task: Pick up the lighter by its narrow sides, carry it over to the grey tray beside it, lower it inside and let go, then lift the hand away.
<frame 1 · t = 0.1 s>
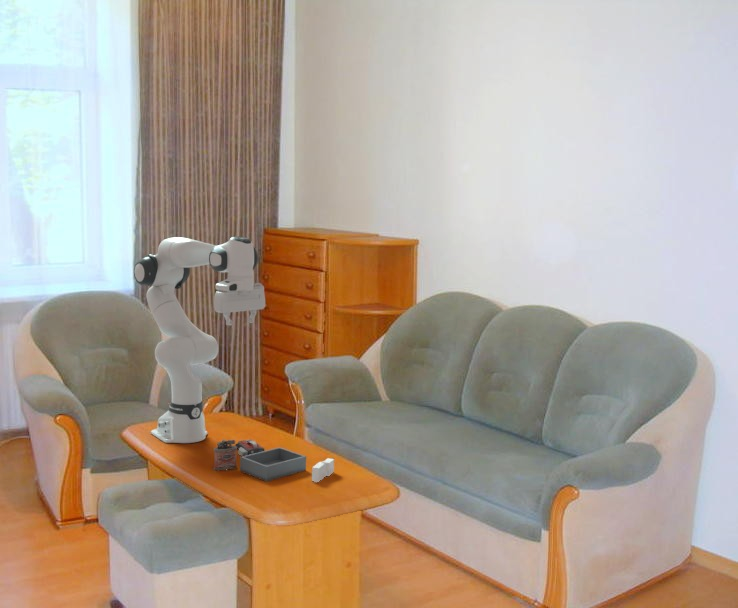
hand: (239, 323, 310), 48 cm above the table, tool pointing down, fingers open, 8 cm apart
grey tray: (273, 470, 303), on the table
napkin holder: (324, 479, 299), on the table
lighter: (225, 469, 303), on the table
walkie-talkie: (251, 456, 321), on the table
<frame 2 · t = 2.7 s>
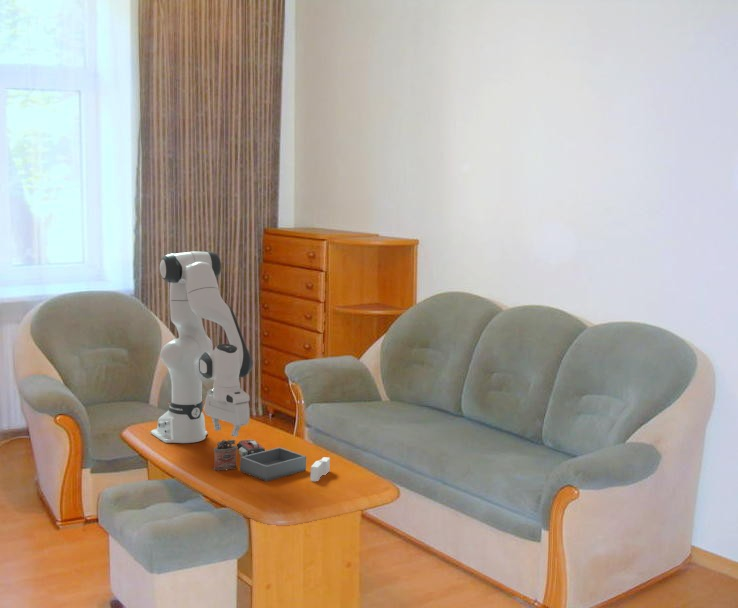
hand: (226, 433, 302), 12 cm above the table, tool pointing down, fingers open, 8 cm apart
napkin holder: (321, 477, 300), on the table
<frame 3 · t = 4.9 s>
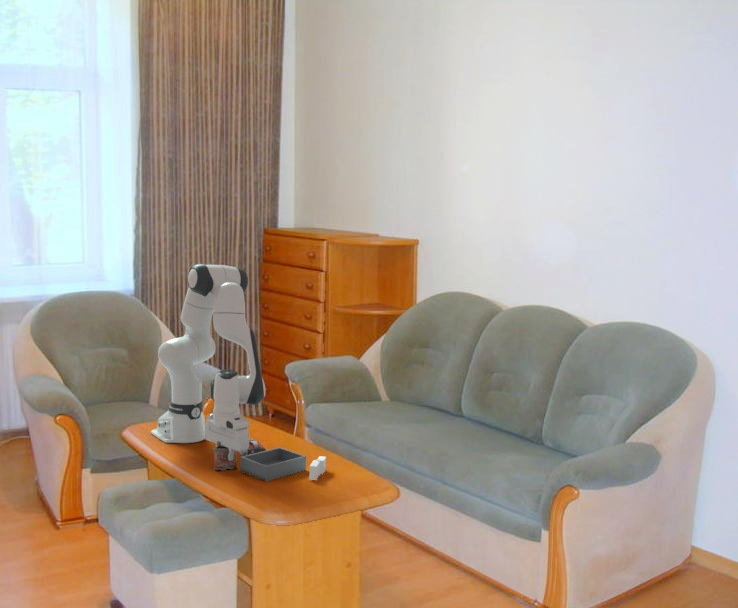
hand: (225, 458, 303), 4 cm above the table, tool pointing down, fingers closed on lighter, 3 cm apart
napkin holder: (319, 476, 301), on the table
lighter: (225, 469, 303), on the table, touching gripper
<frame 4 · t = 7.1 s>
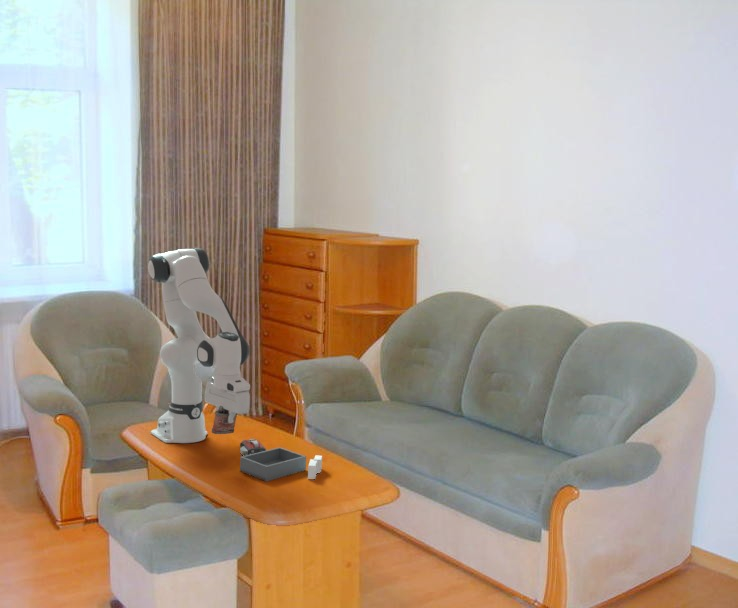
hand: (225, 421, 301), 17 cm above the table, tool pointing down, fingers closed on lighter, 3 cm apart
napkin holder: (316, 476, 302), on the table
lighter: (222, 432, 304), point 12 cm above the table, touching gripper
everything else where it was.
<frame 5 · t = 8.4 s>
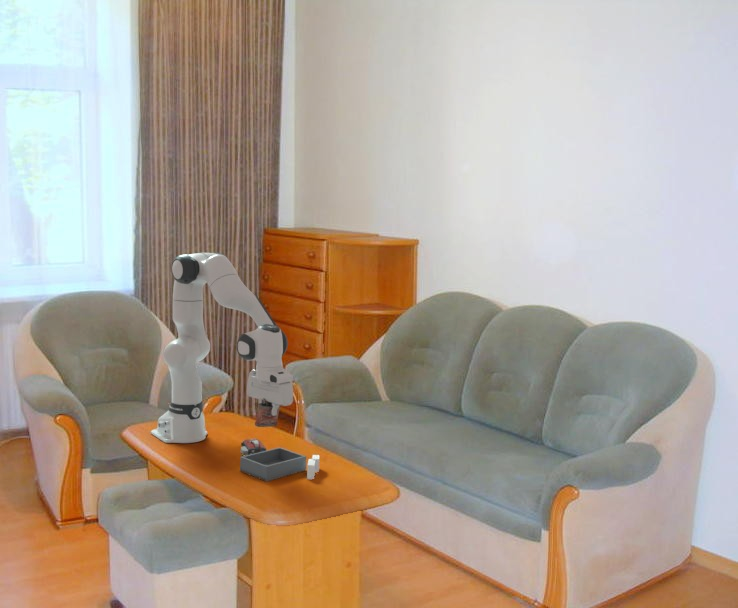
hand: (269, 413, 300), 20 cm above the table, tool pointing down, fingers closed on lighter, 3 cm apart
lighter: (265, 425, 302), point 16 cm above the table, touching gripper
when the fingers open (7 cm above the table, at t = 11.7 s): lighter moves 2 cm, point 2 cm above the table.
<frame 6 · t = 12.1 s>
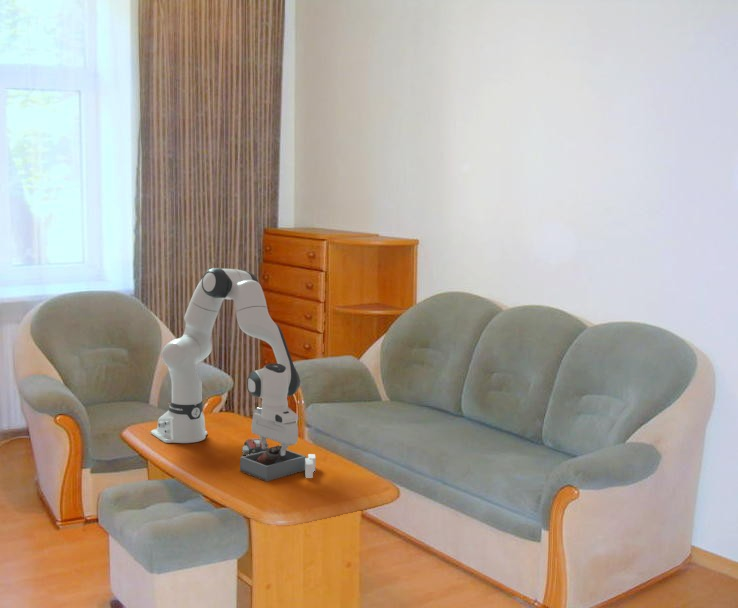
hand: (273, 452, 302), 7 cm above the table, tool pointing down, fingers open, 7 cm apart
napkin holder: (311, 474, 303), on the table
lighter: (264, 461, 306), point 2 cm above the table, touching gripper
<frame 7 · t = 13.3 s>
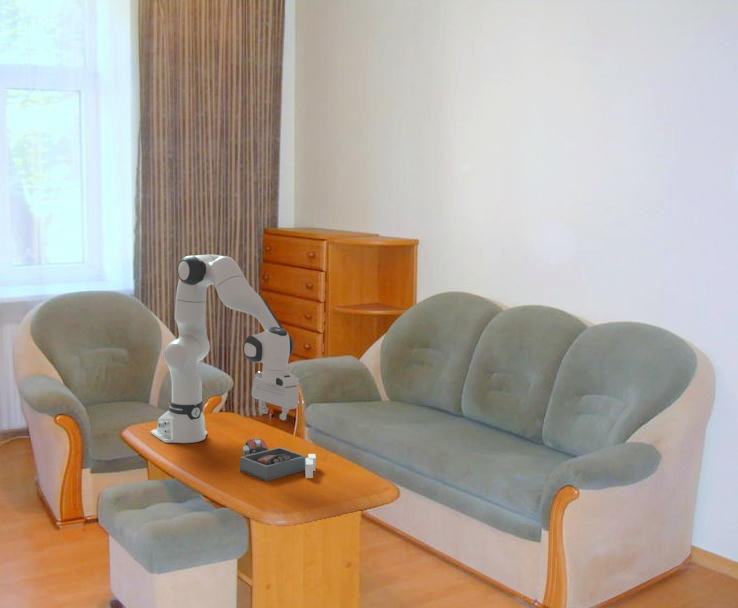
hand: (273, 416, 301), 19 cm above the table, tool pointing down, fingers open, 8 cm apart
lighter: (265, 460, 306), point 3 cm above the table, touching grey tray
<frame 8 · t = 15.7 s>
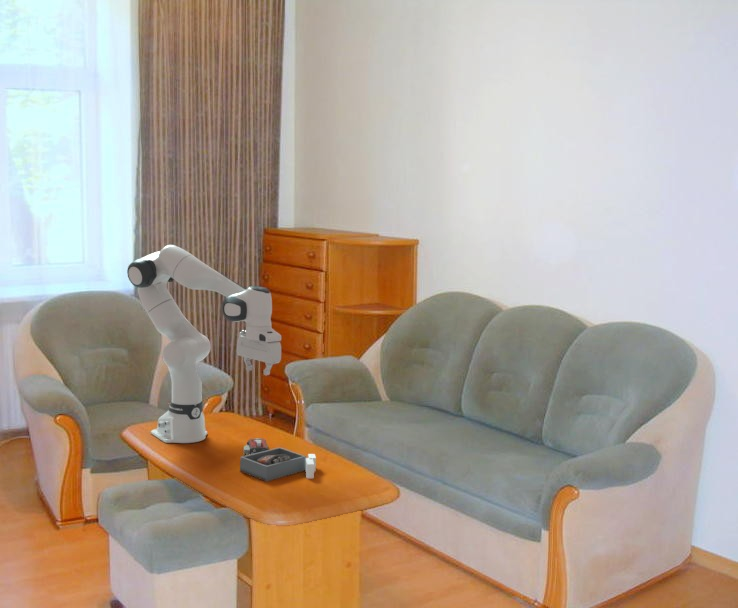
hand: (257, 372, 312), 31 cm above the table, tool pointing down, fingers open, 8 cm apart
at the end: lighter inside the target area on the grey tray (4.0 cm from its centre), point 2.6 cm above the grey tray's base; the gripper is holding nothing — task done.
